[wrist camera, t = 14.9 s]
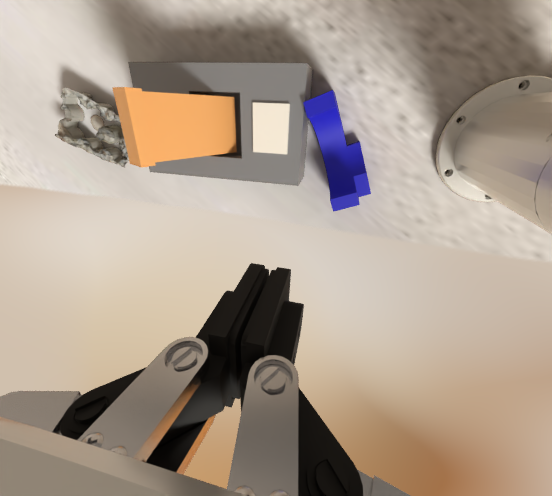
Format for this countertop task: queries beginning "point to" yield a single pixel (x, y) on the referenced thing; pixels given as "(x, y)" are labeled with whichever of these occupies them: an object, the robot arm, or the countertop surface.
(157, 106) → the breaker lever
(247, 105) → the breaker box
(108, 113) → the egg carton
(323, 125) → the cable clip
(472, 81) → the countertop surface
